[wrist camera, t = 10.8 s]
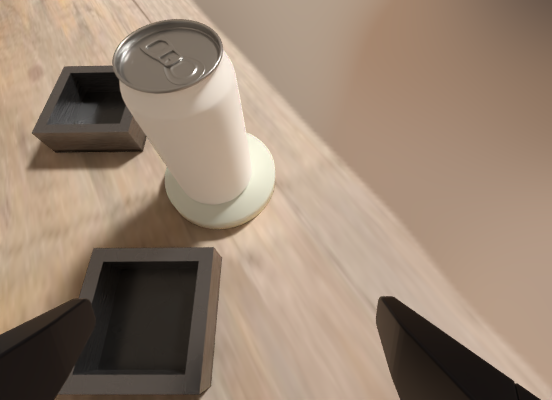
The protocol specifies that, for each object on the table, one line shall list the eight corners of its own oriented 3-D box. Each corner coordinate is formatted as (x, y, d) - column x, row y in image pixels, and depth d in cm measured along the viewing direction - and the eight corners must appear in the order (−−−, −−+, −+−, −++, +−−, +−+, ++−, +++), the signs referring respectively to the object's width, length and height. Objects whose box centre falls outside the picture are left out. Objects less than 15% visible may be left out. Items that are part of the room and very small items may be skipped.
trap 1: (142, 151, 28) (128, 131, 25) (55, 152, 28) (31, 133, 25) (159, 87, 32) (147, 65, 29) (82, 89, 32) (64, 66, 29)
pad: (275, 228, 24) (275, 222, 23) (161, 229, 24) (154, 223, 23) (275, 137, 28) (274, 127, 27) (179, 139, 29) (174, 129, 27)
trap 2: (210, 385, 19) (199, 394, 16) (82, 385, 19) (50, 394, 17) (221, 257, 23) (213, 247, 20) (115, 258, 23) (93, 248, 20)
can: (210, 221, 23) (147, 120, 12) (166, 174, 25) (80, 52, 14) (267, 175, 25) (257, 51, 14) (222, 134, 27) (183, 0, 16)
